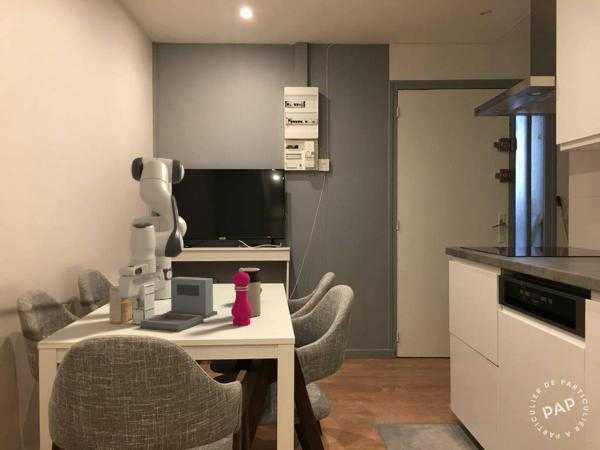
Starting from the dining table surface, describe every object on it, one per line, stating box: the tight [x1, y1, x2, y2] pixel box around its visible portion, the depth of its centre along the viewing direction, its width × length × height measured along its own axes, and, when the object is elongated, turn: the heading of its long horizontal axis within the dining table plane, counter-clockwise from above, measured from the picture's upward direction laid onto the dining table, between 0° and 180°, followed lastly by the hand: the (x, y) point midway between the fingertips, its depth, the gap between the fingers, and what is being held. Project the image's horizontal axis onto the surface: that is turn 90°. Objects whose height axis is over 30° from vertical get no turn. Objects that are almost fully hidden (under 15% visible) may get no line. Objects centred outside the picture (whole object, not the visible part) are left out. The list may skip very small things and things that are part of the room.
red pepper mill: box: [230, 267, 252, 327], centre depth 155 cm, size 7×7×20 cm
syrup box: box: [131, 283, 156, 326], centre depth 157 cm, size 6×6×14 cm
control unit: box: [166, 276, 218, 320], centre depth 171 cm, size 18×8×14 cm, turn 68°
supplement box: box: [108, 285, 132, 324], centre depth 161 cm, size 8×5×13 cm, turn 168°
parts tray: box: [140, 312, 204, 333], centre depth 153 cm, size 16×14×2 cm
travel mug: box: [242, 267, 262, 318], centre depth 169 cm, size 8×8×18 cm
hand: (143, 306), depth 157 cm, fingers closed on syrup box, 6 cm apart
